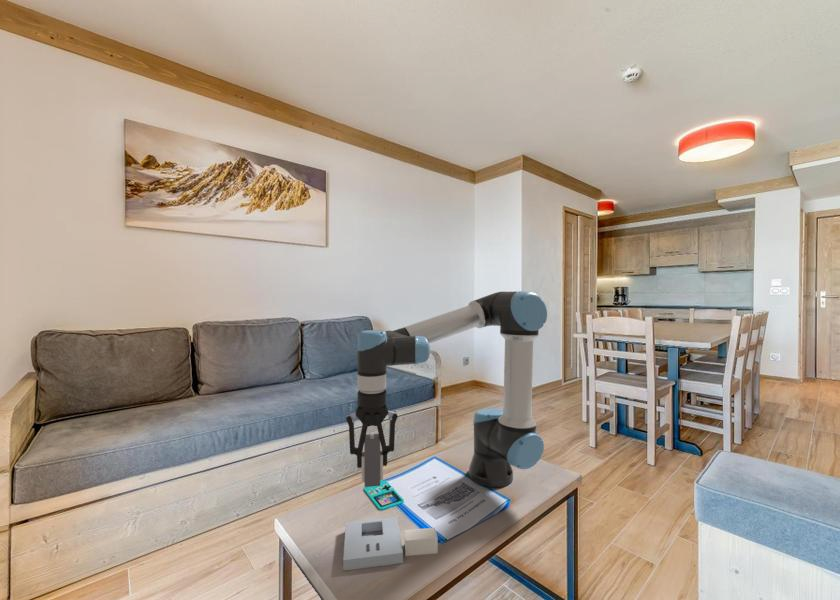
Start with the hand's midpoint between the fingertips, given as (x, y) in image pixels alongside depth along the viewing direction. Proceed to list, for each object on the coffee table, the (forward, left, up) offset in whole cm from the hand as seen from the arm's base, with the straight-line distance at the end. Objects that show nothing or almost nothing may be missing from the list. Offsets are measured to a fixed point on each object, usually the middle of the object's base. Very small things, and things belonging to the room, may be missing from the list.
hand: (372, 478), depth 95 cm
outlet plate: (0, +3, -16) cm, 16 cm away
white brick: (-12, +6, -16) cm, 21 cm away
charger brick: (0, 0, -1) cm, 1 cm away
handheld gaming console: (-4, -20, -17) cm, 26 cm away
